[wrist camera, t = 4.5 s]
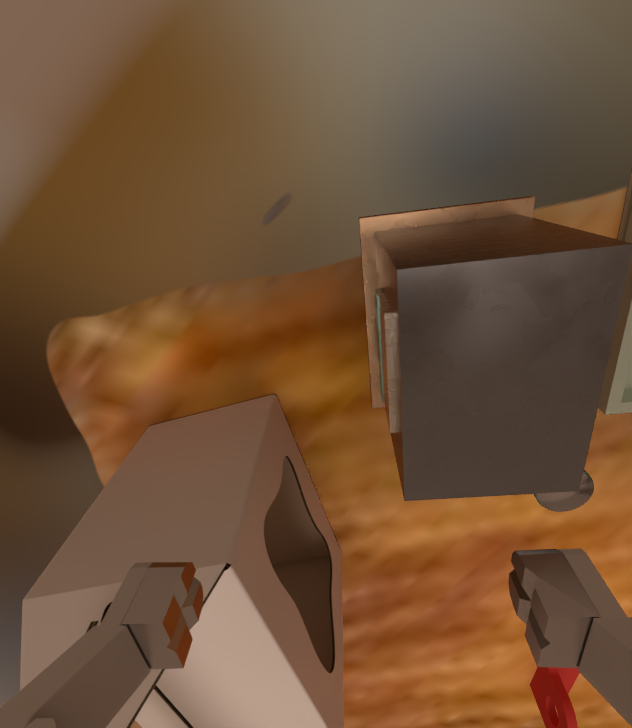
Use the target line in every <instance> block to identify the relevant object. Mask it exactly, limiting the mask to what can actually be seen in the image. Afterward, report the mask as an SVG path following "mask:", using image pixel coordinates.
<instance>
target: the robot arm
mask: <svg viewBox="0 0 632 728" xmlns="http://www.w3.org/2000/svg"><path fill="white" fill-rule="evenodd" d="M511 562H512V564H513V566H514V570H513V571H512V572H510V573H509V590H510V596H511V600H512V603H513V606H514V609H515V611H516V614H517V616H518V617H519V618H520V619H521V620H523V621H524V622H525V623H526V624H527V626H526V632H525V637H526V639H527V642H528V644H529V647H530V649H531V652H532V654H533V657H534V659H535V662H536V664H537V667H556V668H578V671H579V672H580V673H581V674H582V675H583V676H584V677H585V678H586V679H587V680H588V681H589V682H590V683H591V685H592V686H593V687H594V688H595V689H596V690H597V691H598V692H599V693H600V694H601V695H602V696H603V697H604V698H605V699H606V700H607V701H608V702H609V703H610V704H611V705H612V706H613V707H614V709H615V710H616V711H617V712H618V713H619V714H620V715H621V716H622V717H623V718H624V719H625V720H626V721H627V722H628V723H629V724H630V725H631V726H632V618H630V617H627V616H626V614H625V613H624V611H623V610H622V608H621V606H620V605H619V603H618V602H617V600H616V599H615V597H614V596H613V594H612V592H611V591H610V589H609V588H608V586H607V585H606V583H605V582H604V580H603V579H602V577H601V575H600V574H599V572H598V571H597V569H596V568H595V566H594V565H593V563H592V561H591V560H590V558H589V557H588V555H587V554H586V552H584V551H583V550H582V549H559V550H557V549H543V550H522V551H514V552H513V554H512V559H511ZM195 572H196V569H195V567H194V564H193V562H145V563H135V564H134V565H133V566H132V567H131V568H130V569H129V571H128V573H127V575H126V577H125V579H124V581H123V583H122V585H121V586H120V588H119V590H118V592H117V594H116V596H115V598H114V600H113V602H112V603H111V605H110V607H109V609H108V611H107V613H106V615H105V617H104V619H103V621H102V622H101V624H100V626H94V627H92V628H91V629H90V630H89V631H88V632H87V633H86V634H84V635H83V636H82V637H81V638H80V639H79V640H78V641H76V642H75V643H74V644H73V645H72V646H71V647H70V648H68V649H67V650H66V651H65V652H64V653H63V654H62V655H60V656H59V657H58V658H57V659H56V660H55V661H54V662H53V663H51V664H50V665H49V666H48V667H47V668H46V669H45V670H43V671H42V672H41V673H40V674H39V675H38V676H37V677H35V678H34V679H33V680H32V681H31V682H30V683H29V684H27V685H26V686H25V687H24V688H23V689H22V690H21V691H19V692H18V693H17V694H16V695H15V696H14V697H13V698H11V699H10V700H9V701H8V702H7V703H6V704H5V705H3V706H2V707H1V708H0V728H106V727H107V726H108V724H109V723H110V722H111V721H112V719H113V718H114V717H115V716H116V714H117V713H118V712H119V711H120V709H121V708H122V707H123V706H124V704H125V703H126V702H127V701H128V699H129V698H130V697H131V696H132V694H133V693H134V692H135V691H136V690H137V688H138V687H139V686H140V685H141V683H142V682H143V681H144V680H145V678H146V677H147V676H148V675H149V673H150V672H151V671H150V670H151V669H179V668H184V665H185V662H186V659H187V656H188V653H189V650H190V646H191V643H192V640H193V639H192V635H191V632H190V629H191V628H192V627H193V626H194V625H195V624H196V623H197V622H198V621H199V617H200V614H201V611H202V604H203V588H202V585H201V582H200V581H199V580H197V579H196V578H195V577H194V575H195Z"/></svg>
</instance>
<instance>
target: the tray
mask: <svg viewBox="0 0 632 728" xmlns="http://www.w3.org/2000/svg"><path fill="white" fill-rule="evenodd" d="M618 240H620V241H624V242H628V243H632V171H631V176H630V181H629V186H628V190H627V195H626V200H625V205H624V210H623V215H622V220H621V225H620V230H619V235H618ZM598 408H599V409H600V410H601V411H602V412H603V413H604V414H617V413H631V412H632V254H631V259H630V263H629V268H628V272H627V277H626V281H625V286H624V291H623V295H622V300H621V304H620V309H619V313H618V318H617V322H616V327H615V331H614V336H613V340H612V345H611V349H610V354H609V358H608V363H607V367H606V372H605V377H604V381H603V386H602V390H601V395H600V399H599V404H598Z"/></svg>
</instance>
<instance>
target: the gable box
mask: <svg viewBox="0 0 632 728" xmlns="http://www.w3.org/2000/svg"><path fill="white" fill-rule="evenodd" d="M145 562H193V564H194V567H195V569H196V572H195V575H194V577H195V578H196V579H197V580H199V581H200V582H201V585H202V588H203V604H202V611H201V614H200V617H199V621H198V622H197V623H196V624H195V625H194V626H193V627H192V628H191V629H190V632H191V635H192V639H193V640H192V643H191V646H190V650H189V653H188V656H187V659H186V662H185V665H184V668H179V669H151V670H150V671H151V672H150V673H149V675H148V676H147V677H146V678H145V680H144V681H143V682H142V683H141V685H140V686H139V687H138V688H137V690H136V691H135V692H134V693H133V694H132V696H131V697H130V698H129V699H128V701H127V702H126V703H125V704H124V706H123V707H122V708H121V709H120V711H119V712H118V713H117V714H116V716H115V717H114V718H113V719H112V721H111V722H110V723H109V724H108V726H107V727H106V728H130V727H131V725H132V723H133V722H134V720H136V721H137V722H138V723H139V724H140V726H141V727H142V728H344V693H343V618H342V553H341V550H340V548H339V545H338V543H337V541H336V538H335V536H334V533H333V531H332V529H331V526H330V524H329V521H328V519H327V516H326V514H325V512H324V509H323V507H322V504H321V502H320V500H319V497H318V495H317V492H316V490H315V488H314V485H313V483H312V480H311V478H310V476H309V473H308V471H307V468H306V466H305V464H304V461H303V459H302V456H301V454H300V451H299V449H298V447H297V444H296V442H295V439H294V437H293V435H292V432H291V430H290V427H289V425H288V423H287V420H286V418H285V415H284V413H283V411H282V408H281V406H280V403H279V401H278V399H277V396H276V395H274V394H273V395H269V396H265V397H261V398H257V399H253V400H249V401H245V402H241V403H237V404H234V405H230V406H226V407H222V408H218V409H214V410H210V411H206V412H202V413H198V414H195V415H191V416H187V417H183V418H179V419H175V420H171V421H167V422H163V423H159V424H156V425H152V426H149V427H148V428H147V429H146V431H145V432H144V434H143V435H142V436H141V438H140V439H139V441H138V442H137V443H136V445H135V446H134V447H133V449H132V450H131V452H130V453H129V454H128V456H127V457H126V458H125V460H124V461H123V463H122V464H121V465H120V467H119V468H118V469H117V471H116V472H115V474H114V475H113V476H112V478H111V479H110V481H109V482H108V483H107V485H106V486H105V487H104V489H103V490H102V492H101V493H100V494H99V496H98V497H97V499H96V500H95V501H94V503H93V504H92V505H91V507H90V508H89V509H88V511H87V512H86V514H85V515H84V516H83V518H82V519H81V521H80V522H79V524H78V525H77V526H76V527H75V529H74V530H73V532H72V533H71V534H70V536H69V537H68V538H67V540H66V541H65V543H64V544H63V545H62V547H61V548H60V549H59V551H58V552H57V554H56V555H55V556H54V558H53V559H52V561H51V562H50V563H49V565H48V566H47V567H46V569H45V570H44V572H43V573H42V574H41V576H40V577H39V579H38V580H37V581H36V583H35V584H34V585H33V587H32V588H31V590H30V591H29V593H28V594H27V595H26V596H25V598H24V599H23V602H22V638H21V673H20V691H21V690H22V689H23V688H24V687H25V686H26V685H27V684H29V683H30V682H31V681H32V680H33V679H34V678H35V677H37V676H38V675H39V674H40V673H41V672H42V671H43V670H45V669H46V668H47V667H48V666H49V665H50V664H51V663H53V662H54V661H55V660H56V659H57V658H58V657H59V656H60V655H62V654H63V653H64V652H65V651H66V650H67V649H68V648H70V647H71V646H72V645H73V644H74V643H75V642H76V641H78V640H79V639H80V638H81V637H82V636H83V635H84V634H86V633H87V632H88V631H89V630H90V629H91V628H92V627H94V626H100V624H101V622H102V621H103V619H104V617H105V615H106V613H107V610H108V609H109V607H110V605H111V603H112V602H113V600H114V598H115V596H116V594H117V592H118V590H119V588H120V586H121V585H122V583H123V581H124V579H125V577H126V575H127V573H128V571H129V569H130V568H131V567H132V566H133V565H134V564H135V563H145Z"/></svg>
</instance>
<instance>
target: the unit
mask: <svg viewBox="0 0 632 728" xmlns="http://www.w3.org/2000/svg"><path fill="white" fill-rule="evenodd" d="M534 203H535V197H531V196H529V197H521V198H512V199H505V200H496V201H488V202H481V203H472V204H464V205H455V206H447V207H439V208H431V209H424V210H415V211H407V212H399V213H390V214H382V215H374V216H366V217H359V227H360V242H361V257H362V271H363V285H364V299H365V313H366V328H367V342H368V356H369V370H370V384H371V399H372V408H383V407H385V410H386V415H387V420H388V425H389V430H390V433H391V437H392V442H393V447H394V452H395V457H396V462H397V467H398V472H399V476H400V481H401V486H402V491H403V496H404V501H411V500H429V499H447V498H465V497H483V496H501V495H519V494H537V493H555V492H573V491H579V490H580V485H581V481H582V476H583V472H584V467H585V463H586V458H587V454H588V449H589V444H590V440H591V435H592V431H593V426H594V422H595V417H596V413H597V408H598V404H599V399H600V395H601V390H602V386H603V381H604V377H605V372H606V367H607V363H608V358H609V354H610V349H611V345H612V340H613V336H614V331H615V327H616V322H617V318H618V313H619V309H620V304H621V300H622V295H623V291H624V286H625V281H626V277H627V272H628V268H629V263H630V259H631V254H632V243H628V242H624V241H620V240H616V239H613V238H609V237H605V236H601V235H597V234H593V233H589V232H585V231H581V230H577V229H574V228H570V227H566V226H562V225H558V224H554V223H550V222H546V221H542V220H539V219H535V218H533V212H534Z"/></svg>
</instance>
